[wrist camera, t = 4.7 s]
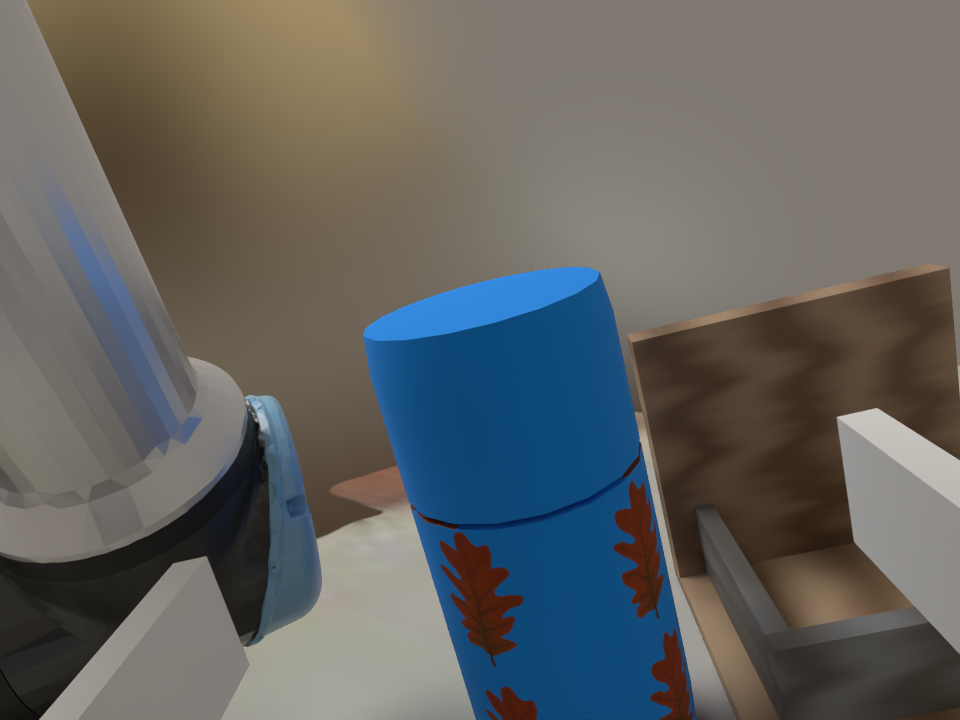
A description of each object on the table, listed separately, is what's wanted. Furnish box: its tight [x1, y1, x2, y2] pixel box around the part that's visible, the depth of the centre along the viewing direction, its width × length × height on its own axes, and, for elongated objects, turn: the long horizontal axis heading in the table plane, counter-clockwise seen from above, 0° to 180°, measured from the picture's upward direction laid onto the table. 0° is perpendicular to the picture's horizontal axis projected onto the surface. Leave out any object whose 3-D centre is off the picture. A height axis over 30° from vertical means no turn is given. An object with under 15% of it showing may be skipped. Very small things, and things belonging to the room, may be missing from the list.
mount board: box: [627, 263, 960, 720], centre depth 38 cm, size 19×17×18 cm
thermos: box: [363, 267, 696, 720], centre depth 33 cm, size 11×11×25 cm
